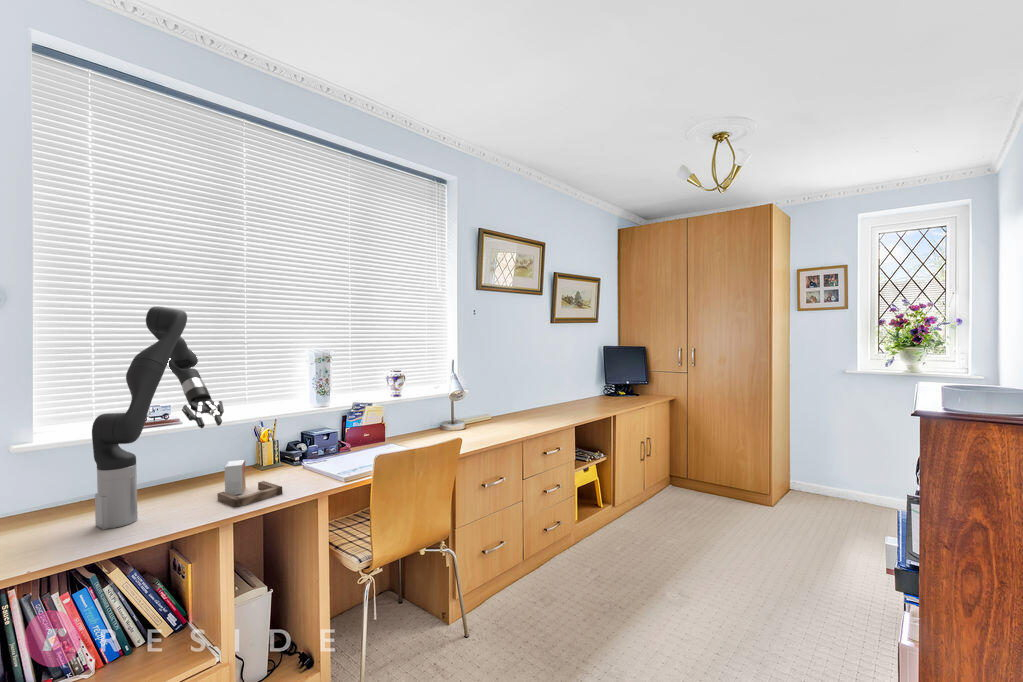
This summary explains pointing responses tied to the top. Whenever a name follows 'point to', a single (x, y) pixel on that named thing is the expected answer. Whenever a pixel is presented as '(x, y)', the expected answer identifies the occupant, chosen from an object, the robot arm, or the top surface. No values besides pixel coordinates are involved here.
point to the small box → (235, 477)
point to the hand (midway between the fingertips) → (211, 425)
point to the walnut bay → (251, 495)
